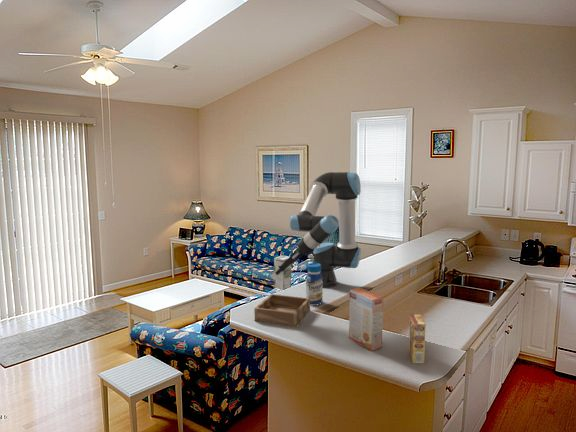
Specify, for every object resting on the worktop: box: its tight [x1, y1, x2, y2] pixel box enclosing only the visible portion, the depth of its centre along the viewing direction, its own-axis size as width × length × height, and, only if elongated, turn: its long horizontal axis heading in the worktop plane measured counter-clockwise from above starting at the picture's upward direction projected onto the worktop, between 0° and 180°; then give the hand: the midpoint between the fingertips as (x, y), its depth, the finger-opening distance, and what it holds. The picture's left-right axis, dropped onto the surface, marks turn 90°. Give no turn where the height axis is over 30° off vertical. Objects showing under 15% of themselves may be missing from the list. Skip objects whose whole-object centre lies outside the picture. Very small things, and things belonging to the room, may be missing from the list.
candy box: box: [408, 314, 426, 365], centre depth 156 cm, size 9×4×15 cm, turn 174°
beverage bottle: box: [305, 262, 324, 306], centre depth 211 cm, size 8×8×20 cm
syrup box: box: [273, 255, 292, 291], centre depth 194 cm, size 6×6×14 cm
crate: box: [254, 293, 311, 328], centre depth 197 cm, size 20×20×6 cm
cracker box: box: [348, 287, 384, 352], centre depth 168 cm, size 14×6×21 cm, turn 30°
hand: (275, 275), depth 195 cm, fingers closed on syrup box, 7 cm apart
